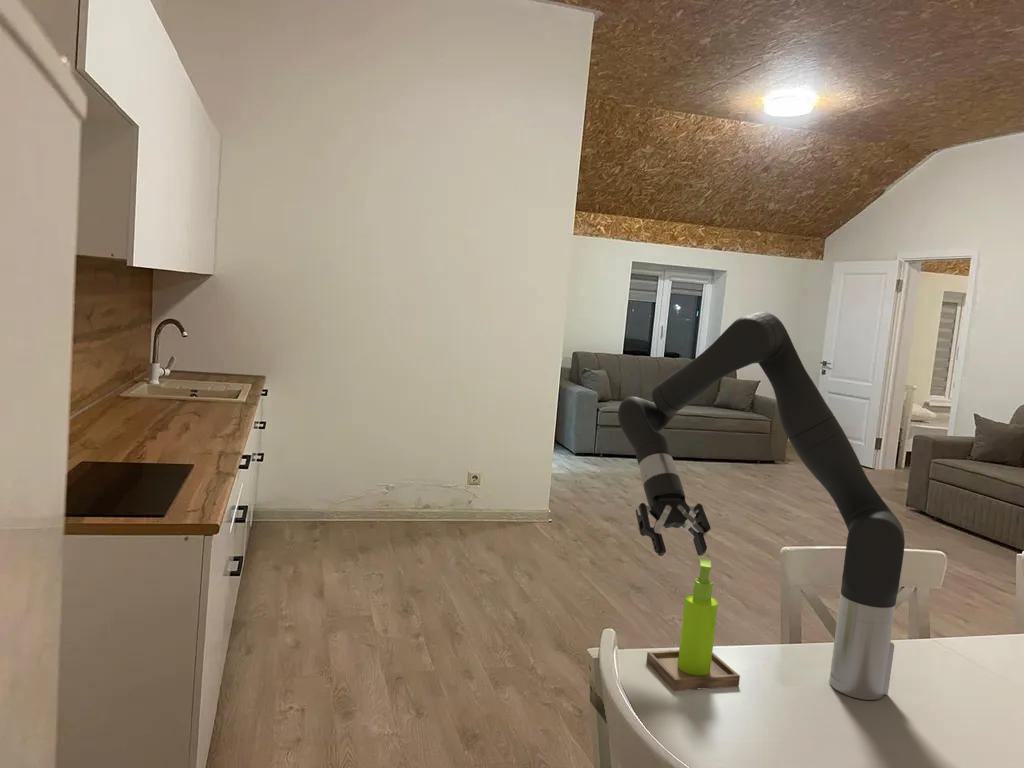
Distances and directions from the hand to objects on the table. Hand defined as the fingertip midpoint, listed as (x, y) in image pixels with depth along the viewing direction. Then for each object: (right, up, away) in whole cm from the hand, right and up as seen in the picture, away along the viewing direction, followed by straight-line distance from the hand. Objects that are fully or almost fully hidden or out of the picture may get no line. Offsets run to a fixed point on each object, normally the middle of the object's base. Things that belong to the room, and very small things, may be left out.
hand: (682, 554), depth 150 cm
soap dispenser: (+1, -20, -5) cm, 21 cm away
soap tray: (+1, -21, -5) cm, 22 cm away
